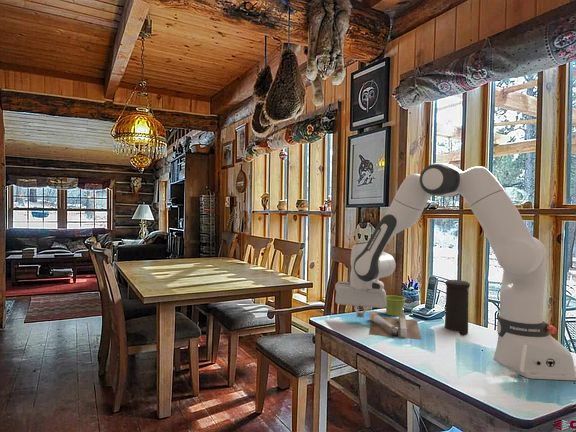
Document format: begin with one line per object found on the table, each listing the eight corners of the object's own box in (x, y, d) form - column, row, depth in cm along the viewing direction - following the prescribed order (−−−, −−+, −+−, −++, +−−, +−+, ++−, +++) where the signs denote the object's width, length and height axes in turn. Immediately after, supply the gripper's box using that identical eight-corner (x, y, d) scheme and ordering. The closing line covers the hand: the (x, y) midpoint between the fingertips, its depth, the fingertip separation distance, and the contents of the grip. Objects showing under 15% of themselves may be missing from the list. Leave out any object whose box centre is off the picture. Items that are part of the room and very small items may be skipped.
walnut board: (416, 324, 157) (416, 320, 157) (421, 343, 133) (421, 339, 133) (372, 320, 162) (372, 316, 162) (368, 338, 138) (368, 334, 138)
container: (473, 333, 146) (474, 281, 146) (460, 337, 141) (461, 283, 141) (452, 327, 153) (453, 277, 153) (439, 331, 148) (440, 279, 148)
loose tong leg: (375, 319, 157) (375, 312, 157) (399, 336, 136) (399, 328, 136) (369, 319, 157) (369, 312, 157) (393, 336, 135) (393, 328, 135)
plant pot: (380, 318, 165) (380, 298, 165) (386, 313, 173) (386, 294, 173) (402, 321, 160) (402, 301, 160) (407, 316, 168) (407, 297, 168)
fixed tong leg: (405, 321, 155) (405, 313, 155) (407, 337, 134) (407, 328, 134) (398, 320, 156) (399, 312, 156) (400, 337, 135) (400, 328, 135)
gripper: (334, 281, 153) (333, 316, 153) (387, 285, 147) (386, 321, 148) (336, 279, 159) (335, 312, 159) (387, 282, 154) (386, 317, 154)
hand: (360, 316), depth 153 cm, fingers closed
